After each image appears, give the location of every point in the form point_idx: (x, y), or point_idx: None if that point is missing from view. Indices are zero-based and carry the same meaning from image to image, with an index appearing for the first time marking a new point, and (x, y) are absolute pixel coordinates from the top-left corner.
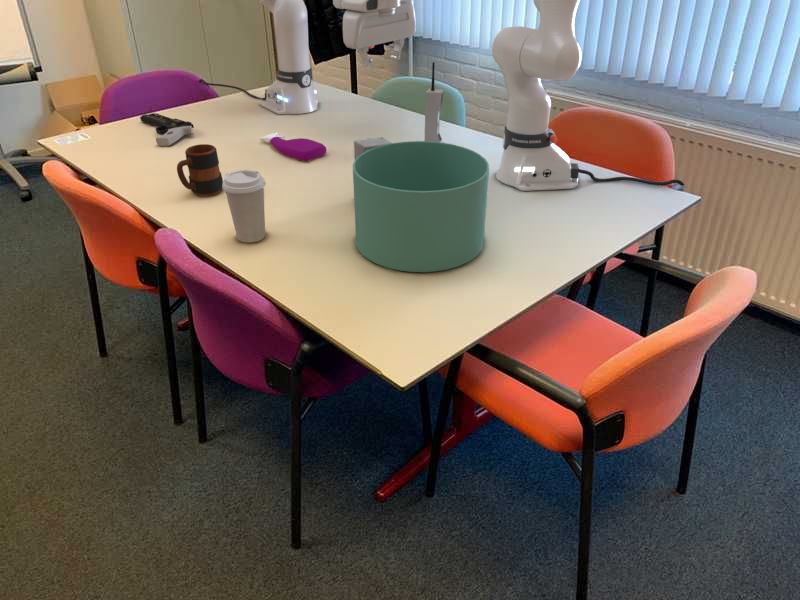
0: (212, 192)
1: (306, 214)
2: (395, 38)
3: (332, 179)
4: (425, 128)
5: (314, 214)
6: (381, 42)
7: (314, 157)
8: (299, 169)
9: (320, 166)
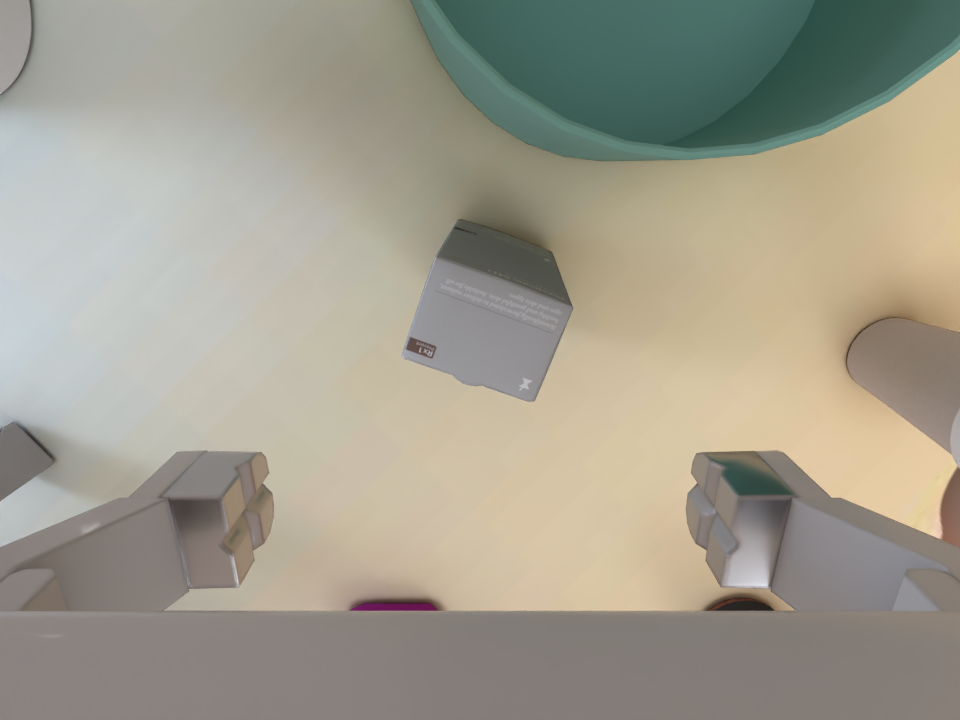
0: (757, 602)
1: (688, 352)
2: (166, 633)
3: (463, 472)
4: (6, 493)
5: (675, 336)
6: (664, 616)
7: (401, 604)
8: (479, 579)
9: (422, 558)
